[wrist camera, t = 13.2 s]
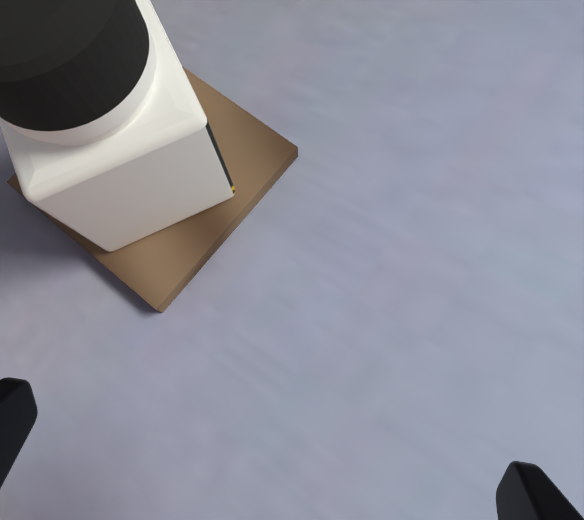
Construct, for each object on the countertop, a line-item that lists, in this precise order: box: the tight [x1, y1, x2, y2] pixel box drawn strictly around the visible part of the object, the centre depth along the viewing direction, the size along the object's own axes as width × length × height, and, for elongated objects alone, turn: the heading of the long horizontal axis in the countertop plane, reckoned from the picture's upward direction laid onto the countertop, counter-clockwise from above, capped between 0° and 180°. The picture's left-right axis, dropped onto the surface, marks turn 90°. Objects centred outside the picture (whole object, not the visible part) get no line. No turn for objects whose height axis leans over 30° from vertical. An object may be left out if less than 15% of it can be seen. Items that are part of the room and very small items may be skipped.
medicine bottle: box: [0, 0, 235, 252], centre depth 18 cm, size 7×7×12 cm
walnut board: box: [7, 67, 298, 313], centre depth 24 cm, size 11×11×1 cm
